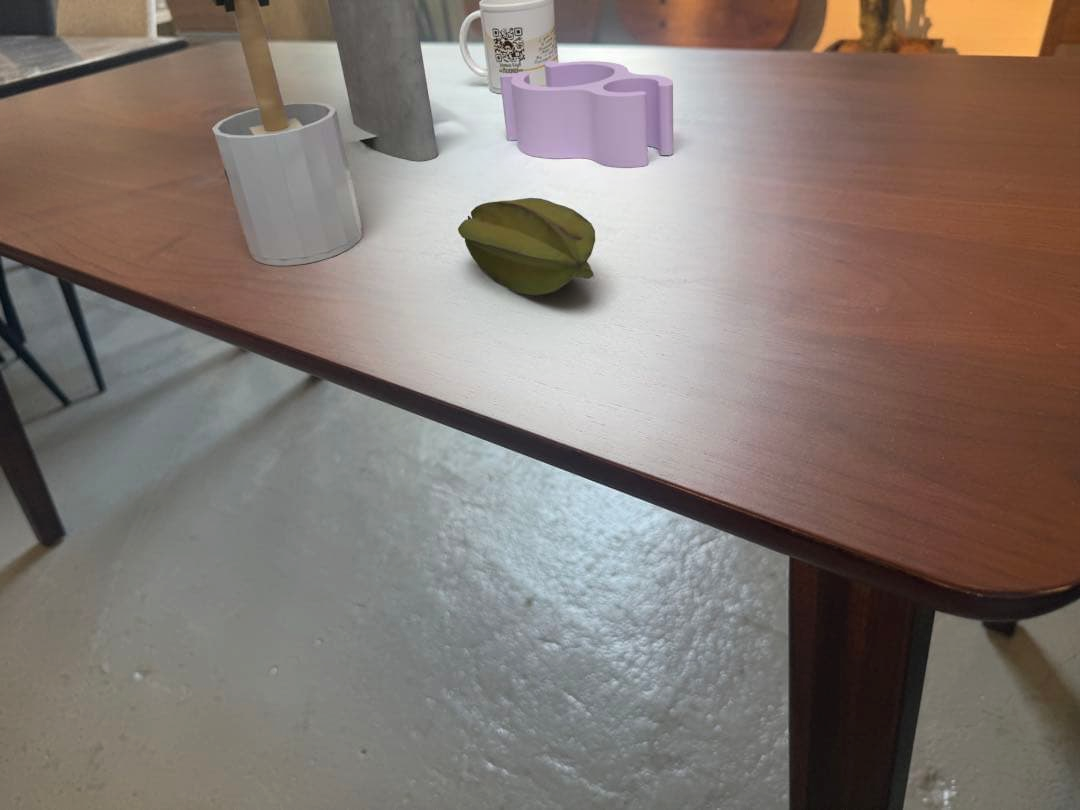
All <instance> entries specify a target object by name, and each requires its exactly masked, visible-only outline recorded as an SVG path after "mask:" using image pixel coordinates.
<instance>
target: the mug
mask: <svg viewBox="0 0 1080 810" xmlns="http://www.w3.org/2000/svg"><path fill="white" fill-rule="evenodd" d="M478 8H479V9H478V10H475V11H473V12H471V13H470V14H469V15H467V16H466V18H464V20H463V22H462V24H461V27H460V30H459V36H458V37H459V38H458V39H459V40H458V42H459V49H460V53H461V56H462V59H463V62H464V63H465V64H466V66H467V67H468V69H469V70H470V71H472V73H474V74H475V75H477V76H479V77H482V78H487V80H488V87H489V90H490V91H491V92H493V93H496V94H501V95H502V91H501V82H500V75H503V74H514V73H527V74H529V80H530V85H533V86H540V87H546V76H545V64H544V62H547V61H557V63H559V51H558V38H557V27H556V14H555V1H554V0H480V1H479V2H478ZM479 18H480V24H481V32H482V40H483V48H484V56H485V65H486V68H485V67H482V66H480V65H479V64H477V62H476V61H475V60H474V59H473V57H472V56H471V54H470V51H469V48H468V40H467V39H468V31H469V28H470V26H471V24H472V22H473V21H474V20H476V19H479Z"/></svg>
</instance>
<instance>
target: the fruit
mask: <svg viewBox="0 0 1080 810" xmlns="http://www.w3.org/2000/svg"><path fill="white" fill-rule="evenodd" d="M470 215H471V216H470ZM470 215H467V219H464V220H463V221H462V222H461V223H460V224H459V226H458V228H457V231H458V234H459V235H460V237H461V238H463V239H464V243H465V246H466V248H467V251H468V252H469V254H470V256H471V258H472V259H473V261H474V262H475V263H476V265H477V266H478V267H479V269H481V270H482V272H484V274H485V275H487V276H488V277H489V278H490V279H492V280H493V281H494V282H495V283H496V284H499V285H500V286H502V287H505V288H506V289H508V290H509V291H511V292H514V293H517V294H520V295H521V294H522V295H527V296H542V295H548V294H550V293H554V292H556V291H558V290H560V289H561V288H563V287H564V286H565V285H567V284H568V283H570V282H571V281H573V279H574V278H580V279H581V278H582V279H591V278H593V277H594V272H593V269H592V267H591V265H590V264H589V262H588V260H589V258H590V257H591V256H592V253H593V250H594V246H595V243H596V230H595V228H594V225H593V223H591V221H589V220H588V219H587V218H586V217H584V216H583V215H582V214H581V213H579V212H577V211H576V210H574V209H572V208H570V207H568V206H565V205H562V204H559V203H555V202H552V201H550V200H547V199H543V198H540V197H526V198H519V199H511V200H498V201H497V200H496V201H489V202H484V203H481V204H478V205H476V206H475V207H474V208H473V209H472V210H471V211H470Z"/></svg>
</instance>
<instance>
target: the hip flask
mask: <svg viewBox="0 0 1080 810" xmlns="http://www.w3.org/2000/svg"><path fill="white" fill-rule="evenodd" d="M327 3H328V7H329V13H330V18H331V22H332V28H333V32H334V37H335V42H336V47H337V50H338V55H339V61H340V65H341V69H342V73H343V75H342V76H343V79H344V80H343V81H344V84H345V90H346V93H347V98H348V103H349V107H350V108H349V109H350V113H351V117H352V121H353V125H354V126H356V127H357V128H359V129H360V130H362V131H364V132H366V133H368V134H371V135H373V136H371V137H367V138H363V139H359V140H358V141H359V142H360V143H362V144H363V145H365V146H367V147H368V148H371V149H373V150H375V151H378V152H380V153H384V154H386V155H389V156H393V157H397V158H400V159H404V160H408V161H414V162H423V161H430V160H434V159H435V158H437V157H438V156H439V150H438V144H437V139H436V130H435V125H434V119H433V112H432V107H431V106H432V105H431V101H430V95H429V94H430V93H429V88H428V82H427V76H426V69H425V64H424V57H423V52H422V45H421V38H420V32H419V27H418V20H417V14H416V7H415V1H414V0H327Z"/></svg>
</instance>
